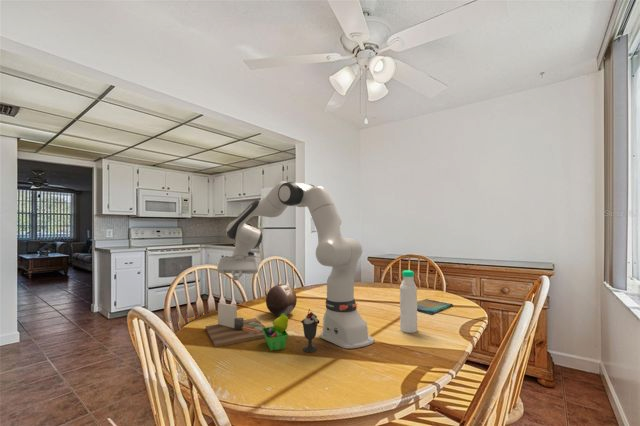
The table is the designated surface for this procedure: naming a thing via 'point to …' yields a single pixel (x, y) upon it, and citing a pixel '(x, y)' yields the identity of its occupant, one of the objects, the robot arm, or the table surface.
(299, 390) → the table surface
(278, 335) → the fruit basket
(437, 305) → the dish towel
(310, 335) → the sundae
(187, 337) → the table surface
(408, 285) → the water bottle
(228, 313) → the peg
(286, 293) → the wooden sphere
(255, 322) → the wooden board
